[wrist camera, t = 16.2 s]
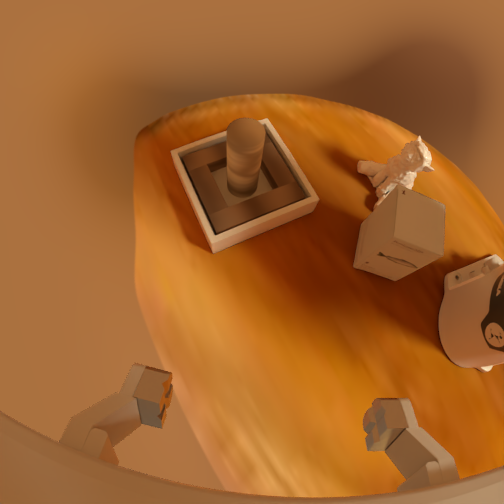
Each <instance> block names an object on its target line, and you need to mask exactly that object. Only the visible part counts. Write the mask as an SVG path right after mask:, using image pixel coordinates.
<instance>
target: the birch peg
mask: <svg viewBox="0 0 504 504" xmlns="http://www.w3.org/2000/svg"><path fill="white" fill-rule="evenodd" d="M265 134H266V131H265V128H264V126H263V125H262V124H261V123H260V122H259V121H257V120H255V119H251V118H240V119H236V120H234V121H233V122H231V123H230V124H229V126H228V127H227V188H228V190H229V192H230V193H231V194H232V195H234V196H236V197H239V198H246V197H249V196H251V195H253V194H254V193H255V191H256V189H257V185H258V179H259V172H260V166H261V160H262V153H263V147H264V141H265Z"/></svg>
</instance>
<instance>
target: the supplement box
mask: <svg viewBox="0 0 504 504" xmlns="http://www.w3.org/2000/svg"><path fill="white" fill-rule="evenodd" d="M444 234H445V205H444V204H442V203H440V202H438V201H435V200H433V199H431V198H429V197H427V196H425V195H423V194H420V193H418V192H415V191H413V190H411V189H408V188H406V187H404V186H401V185H399V184H397V185H396V186H395V188H394V189H393V190H392V191H391V192H390V193H389V194H388V195H387V197H386V198H385V199H384V200H383V201H382V202H381V203H380V204H379V205H378V206H377V207H376V209H375V210H374V211H373V212H372V213H371V214H370V215H369V216H368V217H367V218H366V219H365V220H364V221H363V223H362V224H361V227H360V232H359V238H358V243H357V248H356V254H355V259H354V264H353V267H354V268H357V269H360V270H364V271H367V272H370V273H373V274H376V275H379V276H382V277H385V278H388V279H390V280H393V281H397V280H399V279H401V278H403V277H405V276H407V275H409V274H411V273H413V272H414V271H416V270H418V269H420V268H422V267H424V266H426V265H428V264H430V263H431V262H433V261H435V260H437V259H439V258H441V257H443V254H444Z"/></svg>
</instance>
